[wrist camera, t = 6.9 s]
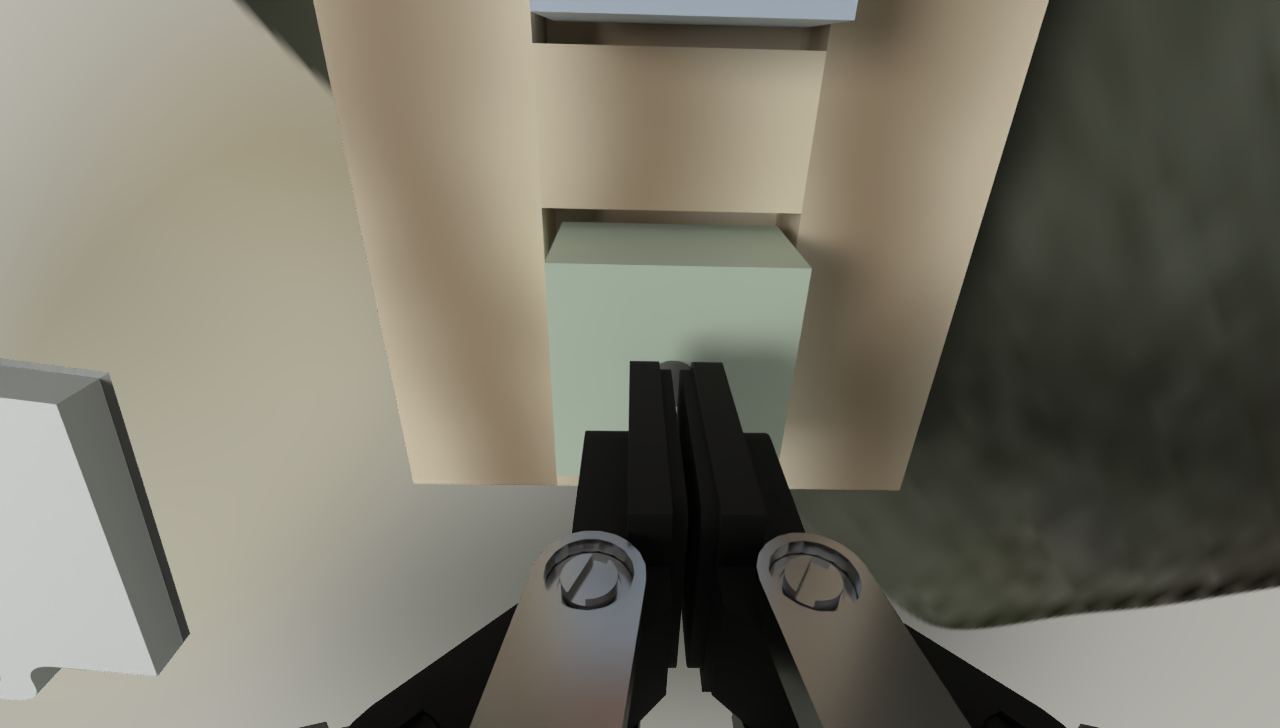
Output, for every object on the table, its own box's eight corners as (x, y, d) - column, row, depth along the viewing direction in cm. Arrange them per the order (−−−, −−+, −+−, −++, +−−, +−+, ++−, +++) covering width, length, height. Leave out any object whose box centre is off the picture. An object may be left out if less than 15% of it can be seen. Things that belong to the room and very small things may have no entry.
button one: (777, 226, 13) (814, 272, 11) (752, 407, 16) (777, 484, 13) (562, 221, 13) (542, 266, 11) (569, 404, 16) (555, 481, 13)
